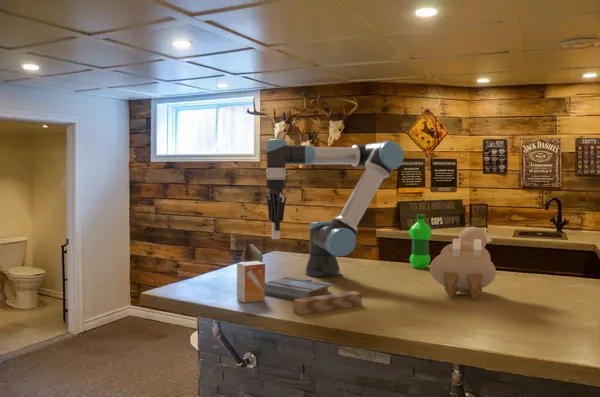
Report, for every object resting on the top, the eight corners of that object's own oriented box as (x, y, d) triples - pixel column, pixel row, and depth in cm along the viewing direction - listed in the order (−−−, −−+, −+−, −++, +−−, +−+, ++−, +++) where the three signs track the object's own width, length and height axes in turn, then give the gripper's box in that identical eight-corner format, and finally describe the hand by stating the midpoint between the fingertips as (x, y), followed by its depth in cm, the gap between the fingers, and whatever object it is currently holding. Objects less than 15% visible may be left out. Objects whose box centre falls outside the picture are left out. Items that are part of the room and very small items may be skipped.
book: (260, 294, 179) (260, 281, 179) (288, 286, 193) (288, 274, 192) (306, 304, 167) (306, 289, 167) (333, 294, 180) (333, 281, 180)
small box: (244, 303, 165) (244, 265, 165) (236, 299, 171) (236, 262, 170) (265, 300, 170) (265, 263, 169) (256, 296, 175) (256, 260, 175)
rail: (354, 302, 168) (354, 290, 168) (361, 305, 164) (361, 293, 164) (293, 311, 156) (293, 299, 156) (299, 314, 152) (299, 302, 152)
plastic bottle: (433, 269, 227) (434, 215, 226) (410, 269, 227) (411, 215, 226) (428, 265, 237) (429, 214, 236) (406, 265, 237) (407, 213, 236)
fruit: (245, 265, 233) (245, 240, 232) (264, 266, 232) (264, 241, 231) (240, 270, 223) (240, 243, 222) (260, 270, 222) (260, 244, 221)
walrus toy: (497, 205, 172) (431, 204, 180) (498, 275, 156) (425, 270, 163) (493, 252, 194) (434, 249, 202) (494, 317, 178) (430, 311, 185)
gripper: (260, 178, 195) (259, 237, 197) (275, 179, 184) (274, 241, 185) (276, 178, 199) (276, 236, 200) (292, 179, 188) (292, 240, 189)
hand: (275, 238), depth 193 cm, fingers closed
